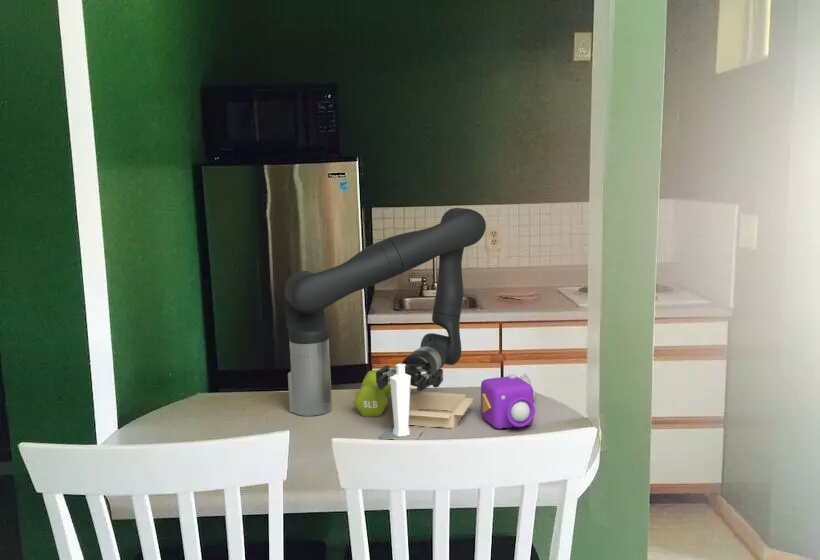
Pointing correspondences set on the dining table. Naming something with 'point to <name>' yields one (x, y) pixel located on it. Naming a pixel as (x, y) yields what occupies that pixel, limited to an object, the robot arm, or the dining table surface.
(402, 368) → the white vase
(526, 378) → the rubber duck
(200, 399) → the dining table surface
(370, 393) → the dumbbell
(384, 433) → the mat
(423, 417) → the carton
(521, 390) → the toy camera
